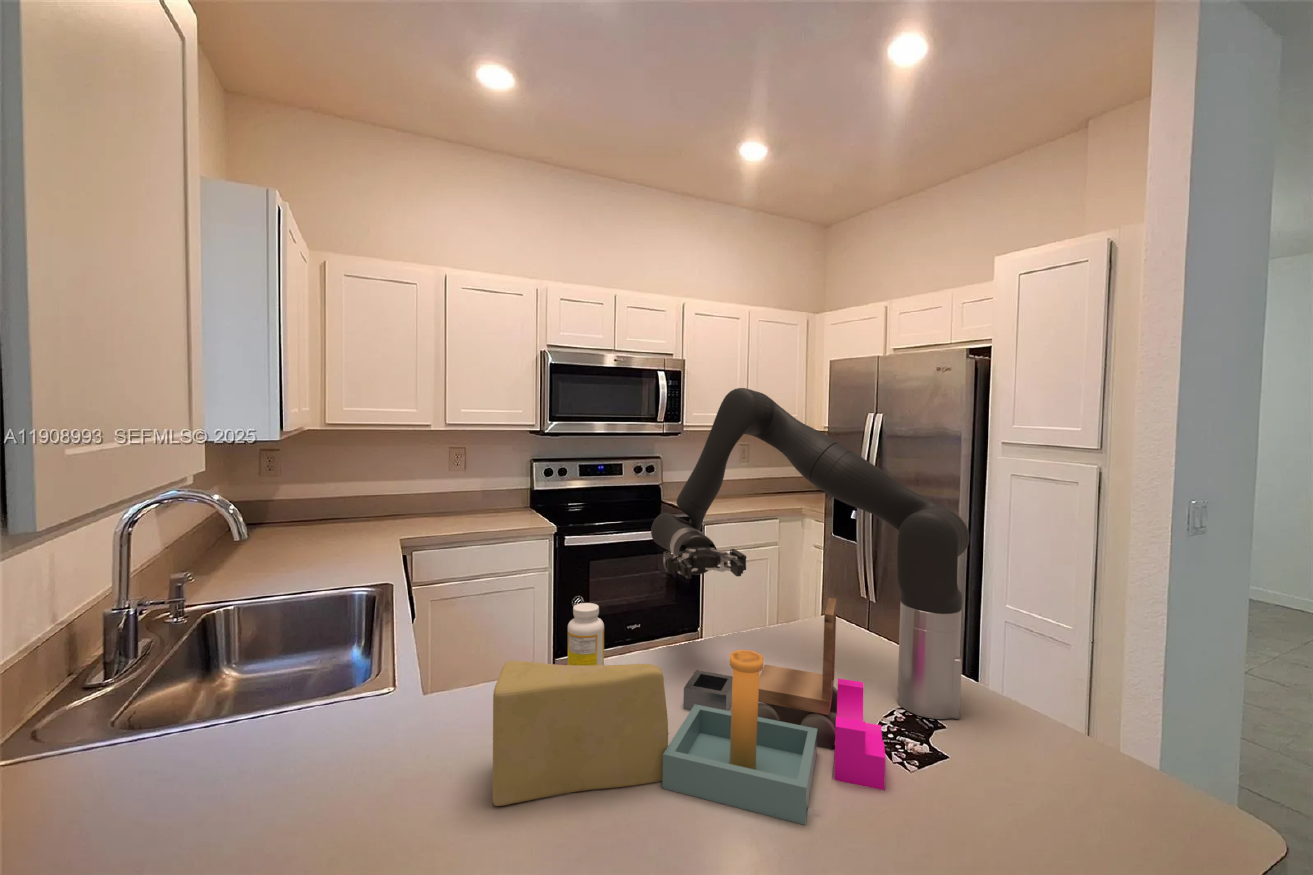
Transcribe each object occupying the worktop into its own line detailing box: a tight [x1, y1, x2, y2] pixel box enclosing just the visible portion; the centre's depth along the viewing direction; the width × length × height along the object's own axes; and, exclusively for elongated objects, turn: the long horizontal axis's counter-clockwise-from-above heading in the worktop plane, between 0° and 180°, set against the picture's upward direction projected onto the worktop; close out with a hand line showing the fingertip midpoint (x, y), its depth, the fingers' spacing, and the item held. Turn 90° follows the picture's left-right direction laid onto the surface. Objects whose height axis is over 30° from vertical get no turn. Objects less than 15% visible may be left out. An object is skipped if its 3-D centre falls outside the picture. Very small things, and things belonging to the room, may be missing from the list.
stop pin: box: [729, 649, 764, 770], centre depth 78 cm, size 4×4×15 cm
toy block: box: [833, 678, 886, 791], centre depth 84 cm, size 15×6×8 cm, turn 162°
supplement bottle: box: [567, 602, 605, 666], centre depth 107 cm, size 7×7×13 cm
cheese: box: [492, 660, 669, 807], centre depth 76 cm, size 22×10×15 cm, turn 95°
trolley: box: [758, 597, 838, 750], centre depth 91 cm, size 13×12×20 cm
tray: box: [662, 704, 818, 826], centre depth 79 cm, size 18×14×4 cm
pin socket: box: [682, 669, 733, 712], centre depth 96 cm, size 7×7×4 cm
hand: (714, 571), depth 97 cm, fingers open, 8 cm apart
